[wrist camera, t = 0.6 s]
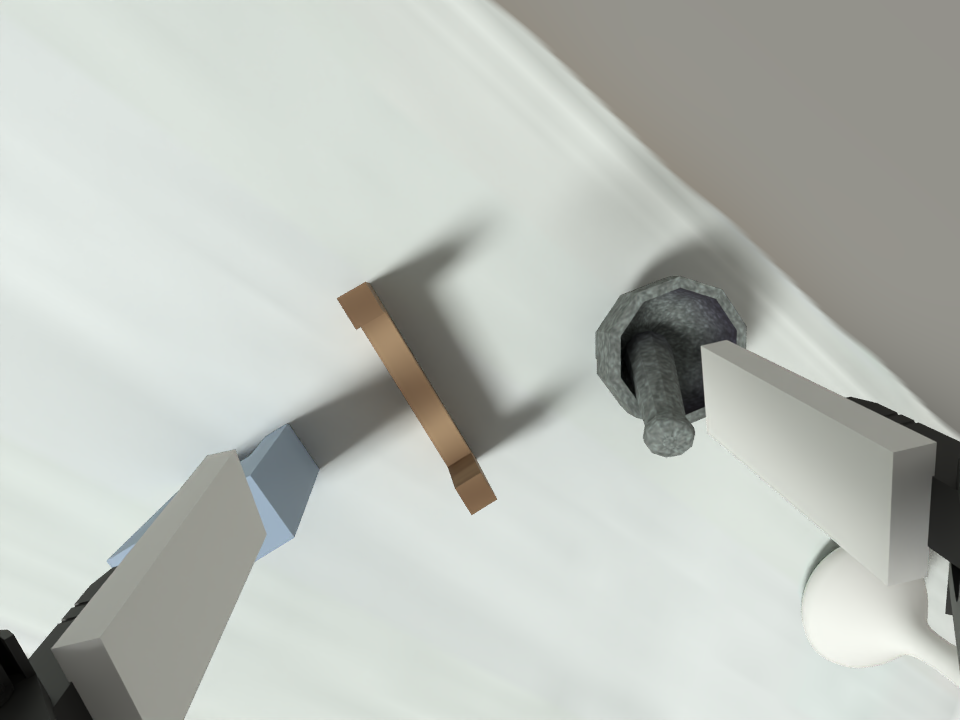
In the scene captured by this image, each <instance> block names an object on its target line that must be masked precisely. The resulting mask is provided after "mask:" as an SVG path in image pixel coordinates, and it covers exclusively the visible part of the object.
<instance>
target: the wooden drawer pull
mask: <svg viewBox="0 0 960 720" xmlns="http://www.w3.org/2000/svg"><path fill="white" fill-rule="evenodd" d="M337 300H338V301H339V303H340V304H341V306H342V308H343V309H344V311H345V313H346V314H347V316H348V317H349V319H350V321H351V322H352V324H353V325H354V327H355V329H356V330H357V329H358V328H360V327H361V328H362V330H363V331H364V333H365V334H366V336H367V338H368V339H369V341H370V342H371V344H372V346H373V347H374V349H375V351H376V352H377V354H378V355H379V357H380V359H381V360H382V362H383V363H384V365H385V367H386V368H387V370H388V371H389V373H390V375H391V376H392V378H393V380H394V381H395V383H396V384H397V386H398V388H399V389H400V391H401V392H402V394H403V396H404V397H405V399H406V401H407V402H408V404H409V405H410V407H411V409H412V410H413V412H414V413H415V415H416V417H417V418H418V420H419V421H420V423H421V425H422V426H423V428H424V430H425V431H426V433H427V434H428V436H429V438H430V439H431V441H432V442H433V444H434V446H435V447H436V449H437V450H438V452H439V454H440V455H441V457H442V459H443V460H444V462H445V463H446V465H447V467H448V469H449V472H450V475H451V478H452V481H453V484H454V487H455V489H456V491H457V492H458V494H459V496H460V497H461V499H462V500H463V502H464V504H465V505H466V507H467V508H468V510H469V512H470V513H471V515H473V514H474V513H476V512H478V511H479V510H481V509H482V508H484V507H486V506H487V505H489V504H490V503H492V502H494V501H495V500H497V498H496V496H495V494H494V492H493V490H492V488H491V486H490V485H489V483H488V481H487V479H486V477H485V475H484V473H483V471H482V469H481V467H480V465H479V463H478V462H477V460H476V458H475V456H474V455H473V453H472V451H471V450H470V448H469V446H468V445H467V443H466V441H465V440H464V438H463V436H462V435H461V433H460V432H459V430H458V428H457V427H456V425H455V423H454V422H453V420H452V418H451V417H450V415H449V413H448V412H447V410H446V408H445V407H444V405H443V403H442V402H441V400H440V399H439V397H438V395H437V394H436V392H435V390H434V389H433V387H432V385H431V384H430V382H429V380H428V379H427V377H426V375H425V374H424V372H423V370H422V369H421V367H420V366H419V364H418V362H417V361H416V359H415V357H414V356H413V354H412V352H411V351H410V349H409V347H408V346H407V344H406V342H405V341H404V339H403V337H402V336H401V334H400V332H399V331H398V329H397V328H396V326H395V324H394V323H393V321H392V319H391V318H390V316H389V314H388V313H387V311H386V309H385V308H384V306H383V304H382V303H381V301H380V299H379V298H378V296H377V295H376V293H375V291H374V290H373V288H372V286H371V285H370V283H367V282H364V283H363V284H361V285H359V286H357V287H356V288H354V289H352V290H350V291H349V292H347V293H345V294H344V295H342V296H340V297H338V298H337Z"/></svg>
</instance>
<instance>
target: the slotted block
mask: <svg viewBox="0 0 960 720" xmlns="http://www.w3.org/2000/svg"><path fill="white" fill-rule="evenodd" d="M240 463H241V466H242V469H243V471H244V474H245V477H246V480H247V482H248V485H249V488H250V490H251V493H252V496H253V498H254V501H255V504H256V506H257V509H258V512H259V515H260V517H261V520H262V523H263V525H264V528H265V531H266V533H267V535H266V537H265V540H264V542H263V544H262V546H261V549H260V551H259V553H258V555H257V558H256V560H255V561H257V560H258V559H260V558H262V557H263V556H265V555H266V554H268V553H270V552H271V551H273V550H275V549H276V548H278V547H280V546H281V545H283V544H284V543H286V542H288V541H289V540H291V539H293V538H294V537H295V534H296V532H297V529H298V526H299V523H300V521H301V518H302V515H303V513H304V510H305V507H306V504H307V502H308V499H309V496H310V494H311V491H312V488H313V486H314V483H315V480H316V477H317V475H318V472H319V468H318V467H317V465H316V464H315V462H314V461H313V459H312V458H311V456H310V455H309V453H308V452H307V450H306V449H305V447H304V446H303V444H302V443H301V441H300V440H299V438H298V437H297V435H296V434H295V433H294V431H293V430H292V428H291V427H290V425H289V424H288V423H287V424H286V425H284V426H282V427H281V428H279V429H277V430H276V431H274V432H272V433H270V434H269V435H267V436H265V438H264V439H263V440H262V441H261V442H260V444H259V445H258V446H257V447H256V449H255V450H254V451H253V452H252V454H251V455H250V456H248V457H247V458H245V459H243V460H242V461H240ZM175 495H176V494H175ZM175 495H174V496H175ZM174 496H173V497H174ZM173 497H171V498H170V499H169V500H168V501H167V502H166V503H165V504H164V505H163V506H162V507H161V508H160V509H159V510H158V511H157V512H156V513H155V514H154V515H153V516H152V517H151V518H150V519H149V520H148V521H147V522H146V523H145V524H144V525H143V526H142V527H141V528H140V529H139V530H138V531H137V532H136V533H135V534H134V535H133V536H131V537H130V538H129V539H128V540H127V541H126V542H125V543H124V544H123V545H122V546H121V547H120V548H119V549H118V550H117V551H116V552H115V553H114V554H113V555H112V556H111V557H110V558H109V559H108V560H107V562H108V564H109V565H110V566H111V567H112V568H113V567H116V566H118V565H119V564H120V563H121V562H122V560H123V559H124V558H125V557H126V555H127V554H128V553H129V552H130V550H131V549H132V548H133V547H134V545H135V544H136V543H137V542H138V540H139V539H140V538H141V537H142V536H143V534H144V533H145V532H146V531H147V529H148V528H149V527H150V526H151V524H152V523H153V522H154V521H155V519H156V518H157V517H158V516H159V514H160V513H161V512H162V511H163V510H164V508H165V507H166V506H167V505H168V503H169V502H170V501H171V500H172V498H173Z"/></svg>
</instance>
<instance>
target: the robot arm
mask: <svg viewBox="0 0 960 720" xmlns="http://www.w3.org/2000/svg"><path fill="white" fill-rule="evenodd" d="M701 357H702V371H703V384H704V397H705V410H706V424H707V434H708V435H710V436H711V437H712V438H713V439H714V440H715V441H717V442H718V443H719V444H720V445H721V446H723V447H724V448H725V449H726V450H727V451H728V452H730V453H731V454H732V455H733V456H734V457H736V458H737V459H738V460H739V461H740V462H741V463H743V464H744V465H745V466H746V467H747V468H749V469H750V470H751V471H752V472H753V473H754V474H756V475H757V476H758V477H759V478H760V479H761V480H763V481H764V482H765V483H766V484H767V485H769V486H770V487H771V488H772V489H773V490H774V491H776V492H777V493H778V494H779V495H780V496H782V497H783V498H784V499H785V500H786V501H787V502H789V503H790V504H791V505H792V506H793V507H795V508H796V509H797V510H798V511H799V512H800V513H802V514H803V515H804V516H805V517H806V518H808V519H809V520H810V521H811V522H812V523H813V524H815V525H816V526H817V527H818V528H819V529H821V530H822V531H823V532H824V533H825V534H826V535H828V536H829V537H830V538H831V539H832V540H833V541H835V542H836V543H837V544H838V545H839V546H841V547H842V548H843V549H844V550H845V551H846V552H848V553H849V554H850V555H851V556H852V557H854V558H855V559H856V560H857V561H858V562H859V563H861V564H862V565H863V566H864V567H865V568H867V569H868V570H869V571H870V572H871V573H872V574H874V575H875V576H876V577H877V578H878V579H880V580H881V581H882V582H883V583H884V584H885V585H887V586H892V585H896V584H900V583H904V582H908V581H913V580H917V579H921V578H925V577H928V566H929V551H930V548H931V549H932V550H934V551H935V552H937V553H938V554H939V555H941V556H942V557H944V558H945V559H947V560H948V561H949V562H950V563H949V575H948V587H947V600H946V612H945V614H949V615H953V622H954V630H955V638H956V646H957V654H958V662H959V670H960V442H959V441H957V440H955V439H953V438H951V437H949V436H946V435H944V434H942V433H940V432H938V431H936V430H934V429H931V428H929V427H927V426H925V425H923V424H921V423H915V422H914V420H912V419H910V418H908V417H906V416H903V415H898V414H897V412H895V411H893V410H891V409H888V408H886V407H884V406H882V405H880V404H878V403H874V402H870V401H866V400H862V399H858V398H853V397H847V398H845V397H843V396H841V395H839V394H837V393H835V392H833V391H831V390H829V389H827V388H825V387H822V386H820V385H818V384H816V383H814V382H812V381H810V380H808V379H806V378H804V377H802V376H800V375H798V374H796V373H794V372H792V371H790V370H788V369H785V368H783V367H781V366H779V365H777V364H775V363H773V362H771V361H769V360H767V359H765V358H763V357H761V356H759V355H757V354H755V353H753V352H751V351H749V350H746V349H744V348H742V347H740V346H738V345H736V344H734V343H732V342H730V341H728V340H724V341H720V342H715V343H711V344H706V345H702V346H701ZM266 535H267V533H266V531H265V528H264V525H263V523H262V520H261V517H260V515H259V512H258V509H257V506H256V504H255V501H254V498H253V496H252V493H251V490H250V488H249V485H248V482H247V480H246V477H245V474H244V471H243V469H242V466H241V463H240V461H239V458H238V455H237V453H236V450H235V449H234V450H230V451H225V452H221V453H216V454H212V455H207V456H206V458H205V459H204V460H203V461H202V462H201V464H200V465H199V466H198V467H197V469H196V470H195V471H194V472H193V474H192V475H191V476H190V477H189V479H188V480H187V481H186V482H185V484H184V485H183V486H182V487H181V488H180V490H179V491H178V492H177V493H176V495H175V496H174V497H173V498H172V500H171V501H170V502H169V503H168V505H167V506H166V507H165V508H164V510H163V511H162V512H161V513H160V514H159V516H158V517H157V518H156V519H155V521H154V522H153V523H152V524H151V526H150V527H149V528H148V529H147V531H146V532H145V533H144V534H143V536H142V537H141V538H140V539H139V540H138V542H137V543H136V544H135V545H134V547H133V548H132V549H131V550H130V552H129V553H128V554H127V555H126V557H125V558H124V559H123V560H122V562H121V563H120V564H119V565H118V566H116V567H113V568H112V569H110V570H109V571H108V572H107V573H105V574H104V575H103V576H102V577H100V578H99V579H98V580H97V581H95V582H94V583H93V584H91V585H90V586H89V588H88V589H87V590H86V591H85V592H84V594H83V595H82V596H81V597H80V598H79V600H78V601H77V602H76V603H75V607H73V608H71V609H70V610H69V611H68V613H67V614H66V615H65V616H64V617H63V619H62V623H60V624H58V625H57V626H56V627H55V628H54V629H53V631H52V632H51V633H50V634H49V635H48V637H47V638H46V639H45V640H44V641H43V643H42V644H41V645H40V646H39V647H38V648H37V650H36V651H35V652H34V653H33V654H32V656H31V657H30V658H29V659H27V657H26V655H25V653H24V652H23V650H22V648H21V646H20V645H19V643H18V641H17V639H16V638H15V636H14V634H12V633H11V632H10V631H9V630H0V720H184V718H185V716H186V714H187V711H188V709H189V707H190V705H191V702H192V700H193V698H194V696H195V694H196V691H197V689H198V687H199V685H200V682H201V680H202V678H203V676H204V673H205V671H206V669H207V667H208V665H209V662H210V660H211V658H212V656H213V653H214V651H215V649H216V647H217V644H218V642H219V640H220V638H221V636H222V633H223V631H224V629H225V627H226V624H227V622H228V620H229V618H230V615H231V613H232V611H233V609H234V607H235V604H236V602H237V600H238V598H239V595H240V593H241V591H242V589H243V586H244V584H245V582H246V580H247V578H248V575H249V573H250V571H251V569H252V566H253V564H254V562H255V560H256V558H257V555H258V553H259V551H260V549H261V546H262V544H263V542H264V540H265V537H266Z"/></svg>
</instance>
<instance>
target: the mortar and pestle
mask: <svg viewBox="0 0 960 720" xmlns="http://www.w3.org/2000/svg"><path fill="white" fill-rule="evenodd" d="M746 329H747V326H746V325H745V323H744V322H743V320H742V319H741V317H740V316H739V314H738V313H737V311H736V310H735V308H734V307H733V305H732V304H731V302H730V301H729V299H728V297H727V296H726V294H725V293H724V291H723V290H722V289H719V288H716V287H713V286H710V285H707V284H704V283H700V282H697V281H694V280H691V279H688V278H685V277H682V276H672V277H667V278H665V279H662V280H659V281H656V282H654V283H651V284H649V285H646V286H644V287H641V288H638V289H636V290H633V291H631V292H628V293H625V294H623V295H620V297H619V298H618V300H617V301H616V303H615V304H614V306H613V308H612V309H611V311H610V312H609V313H608V315H607V316H606V318H605V319H604V321H603V322H602V324H601V325H600V327H599V328H598V330H597V331H596V359H597V374H598V376H599V377H600V378H601V380H602V381H603V382H604V384H605V385H606V386H607V388H608V389H609V390H610V392H611V393H612V394H613V396H614V397H615V398H616V400H617V401H618V403H619V404H620V405H621V406H622V407H623V408H624V409H625V410H626V412H627V413H629V414H631V415H633V416H634V417H636V418H640V419H643V421H644V424H645V429H644V435H643V439H644V443H645V444H646V445H647V447H648V448H649V449H650V451H651V452H652V453H654V454H657V455H660V456H664V457H671V456H677V455H681V454H683V453H684V452H685V451H687V450H688V449H689V448H690V447H692V444H693V440H694V435H695V430H694V427H693V426H692V424H691V423H693V422H695V421H698V420H700V419H702V418H705V417H706V410H705V397H704V384H703V371H702V357H701V346H702V345H706V344H711V343H715V342H720V341H724V340H728V341H730V342H732V343H734V344H736V345H738V346H740V347H742V348H744V349H746Z"/></svg>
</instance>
